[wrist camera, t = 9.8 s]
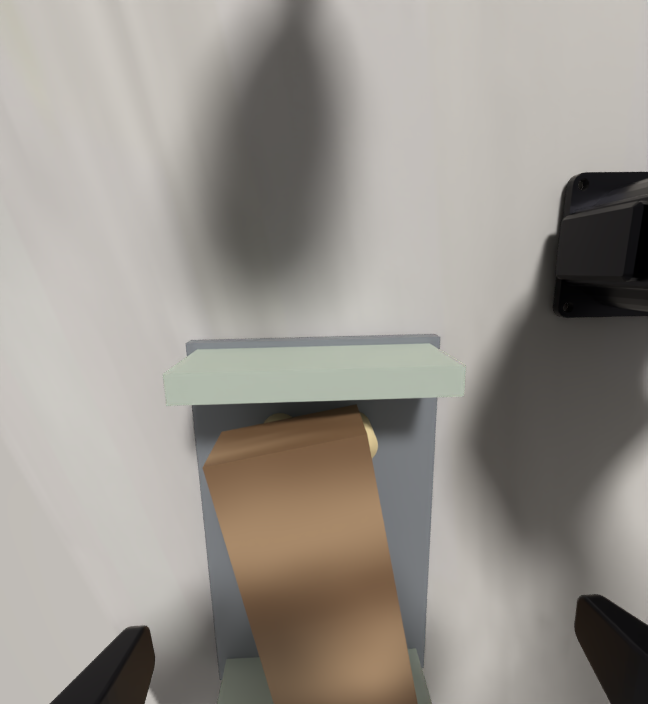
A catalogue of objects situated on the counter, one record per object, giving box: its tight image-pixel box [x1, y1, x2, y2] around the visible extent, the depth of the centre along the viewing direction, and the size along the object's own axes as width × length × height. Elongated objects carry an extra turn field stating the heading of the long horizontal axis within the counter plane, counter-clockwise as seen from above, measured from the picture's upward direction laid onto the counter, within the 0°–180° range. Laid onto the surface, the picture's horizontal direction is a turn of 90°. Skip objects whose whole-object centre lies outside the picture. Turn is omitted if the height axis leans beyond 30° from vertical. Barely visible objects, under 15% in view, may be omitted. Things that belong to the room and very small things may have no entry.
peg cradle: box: [163, 334, 466, 704], centre depth 18 cm, size 12×20×5 cm, turn 1°
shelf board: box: [203, 404, 418, 704], centre depth 16 cm, size 14×6×3 cm, turn 11°
